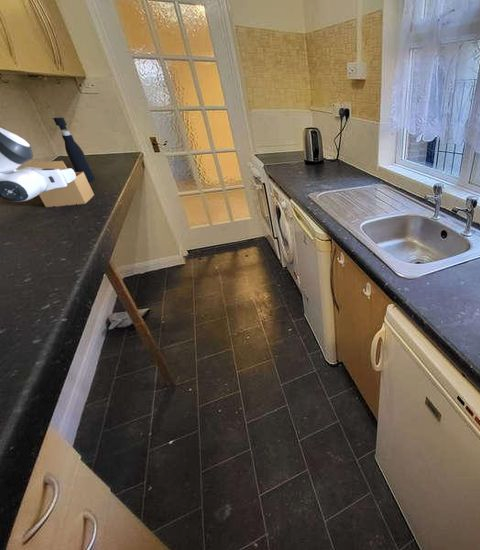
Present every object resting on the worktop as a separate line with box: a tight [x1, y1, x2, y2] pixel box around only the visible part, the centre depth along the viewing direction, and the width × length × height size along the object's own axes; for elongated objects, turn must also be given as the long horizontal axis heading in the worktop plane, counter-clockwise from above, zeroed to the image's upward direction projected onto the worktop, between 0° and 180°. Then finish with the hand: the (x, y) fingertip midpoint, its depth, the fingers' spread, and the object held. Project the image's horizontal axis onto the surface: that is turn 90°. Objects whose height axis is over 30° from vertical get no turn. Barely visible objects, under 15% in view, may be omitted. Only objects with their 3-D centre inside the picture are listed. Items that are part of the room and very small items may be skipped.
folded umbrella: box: [53, 117, 97, 182], centre depth 151 cm, size 6×6×30 cm
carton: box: [38, 171, 95, 208], centre depth 127 cm, size 14×13×10 cm
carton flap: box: [19, 160, 68, 169], centre depth 116 cm, size 7×13×1 cm
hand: (46, 172), depth 116 cm, fingers closed, pressing on carton flap
